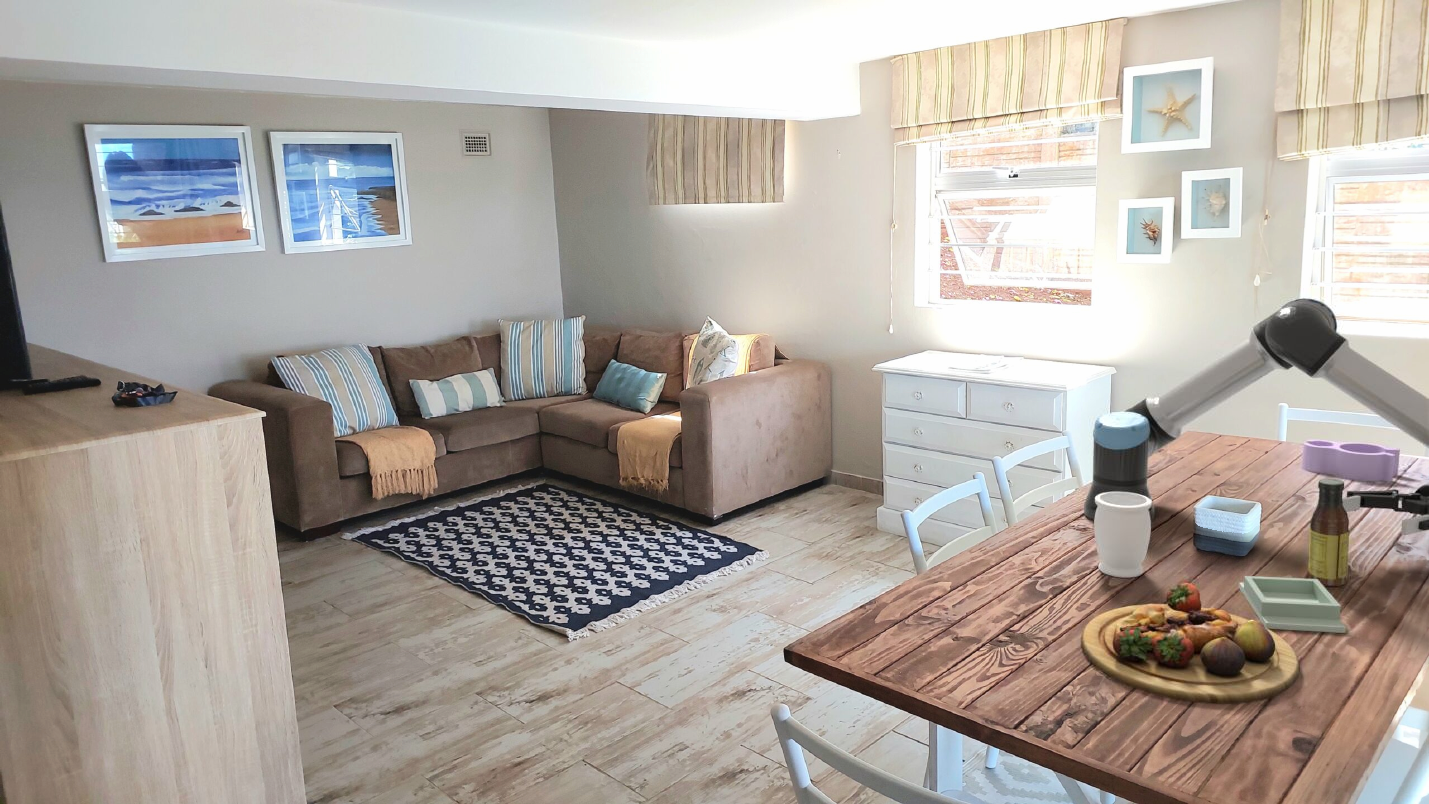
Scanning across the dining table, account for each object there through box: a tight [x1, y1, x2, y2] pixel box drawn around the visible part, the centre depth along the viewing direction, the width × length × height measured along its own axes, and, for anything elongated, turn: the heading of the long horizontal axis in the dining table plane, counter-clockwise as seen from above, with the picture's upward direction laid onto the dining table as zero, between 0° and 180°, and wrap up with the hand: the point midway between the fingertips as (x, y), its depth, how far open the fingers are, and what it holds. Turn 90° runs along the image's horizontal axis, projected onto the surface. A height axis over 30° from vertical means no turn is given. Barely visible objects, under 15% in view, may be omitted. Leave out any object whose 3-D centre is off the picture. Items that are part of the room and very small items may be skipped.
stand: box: [1238, 575, 1347, 634], centre depth 171 cm, size 12×18×4 cm, turn 165°
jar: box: [1093, 492, 1153, 579], centre depth 191 cm, size 11×10×15 cm
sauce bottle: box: [1307, 477, 1350, 587], centre depth 180 cm, size 7×6×20 cm
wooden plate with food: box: [1080, 582, 1300, 705], centre depth 157 cm, size 32×32×8 cm
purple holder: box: [1301, 439, 1401, 483], centre depth 246 cm, size 20×12×7 cm, turn 46°
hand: (1367, 517), depth 183 cm, fingers open, 13 cm apart
